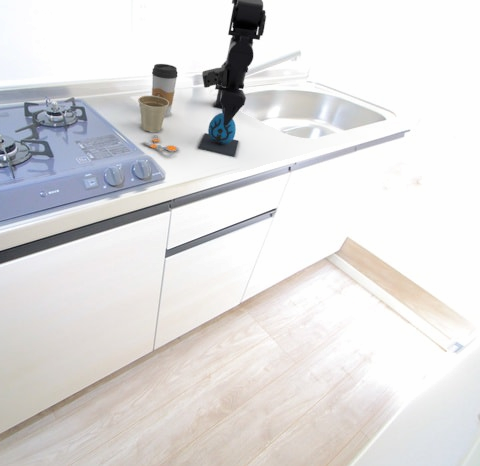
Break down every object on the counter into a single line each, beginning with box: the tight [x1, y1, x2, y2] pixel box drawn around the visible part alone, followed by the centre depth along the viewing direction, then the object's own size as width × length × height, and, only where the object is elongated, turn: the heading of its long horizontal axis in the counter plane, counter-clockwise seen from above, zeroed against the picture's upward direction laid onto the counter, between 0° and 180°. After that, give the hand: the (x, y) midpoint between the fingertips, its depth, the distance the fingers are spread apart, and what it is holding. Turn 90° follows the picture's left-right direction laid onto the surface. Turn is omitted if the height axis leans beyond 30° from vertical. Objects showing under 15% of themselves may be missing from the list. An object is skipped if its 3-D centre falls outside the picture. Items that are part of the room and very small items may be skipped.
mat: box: [197, 132, 239, 157], centre depth 100 cm, size 11×11×1 cm
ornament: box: [207, 112, 236, 144], centre depth 97 cm, size 8×5×10 cm, turn 66°
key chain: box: [142, 134, 178, 157], centre depth 95 cm, size 13×7×1 cm, turn 39°
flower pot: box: [137, 95, 169, 133], centre depth 101 cm, size 9×9×9 cm
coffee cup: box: [151, 63, 178, 118], centre depth 110 cm, size 8×8×15 cm
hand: (224, 119), depth 95 cm, fingers open, 9 cm apart
